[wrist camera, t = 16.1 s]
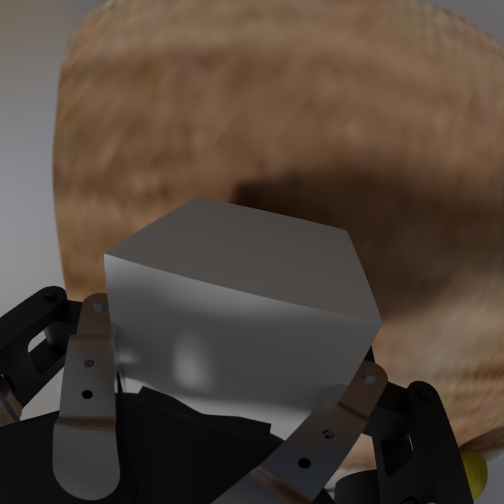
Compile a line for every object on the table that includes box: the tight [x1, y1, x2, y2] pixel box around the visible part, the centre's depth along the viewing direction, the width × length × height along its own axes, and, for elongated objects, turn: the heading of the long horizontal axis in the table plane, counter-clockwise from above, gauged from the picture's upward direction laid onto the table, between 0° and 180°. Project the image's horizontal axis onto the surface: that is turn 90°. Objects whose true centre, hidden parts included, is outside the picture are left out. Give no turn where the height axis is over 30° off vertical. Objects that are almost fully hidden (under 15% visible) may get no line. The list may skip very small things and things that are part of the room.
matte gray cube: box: [104, 197, 383, 440], centre depth 11 cm, size 7×7×7 cm
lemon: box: [459, 450, 488, 502], centre depth 16 cm, size 6×6×8 cm
